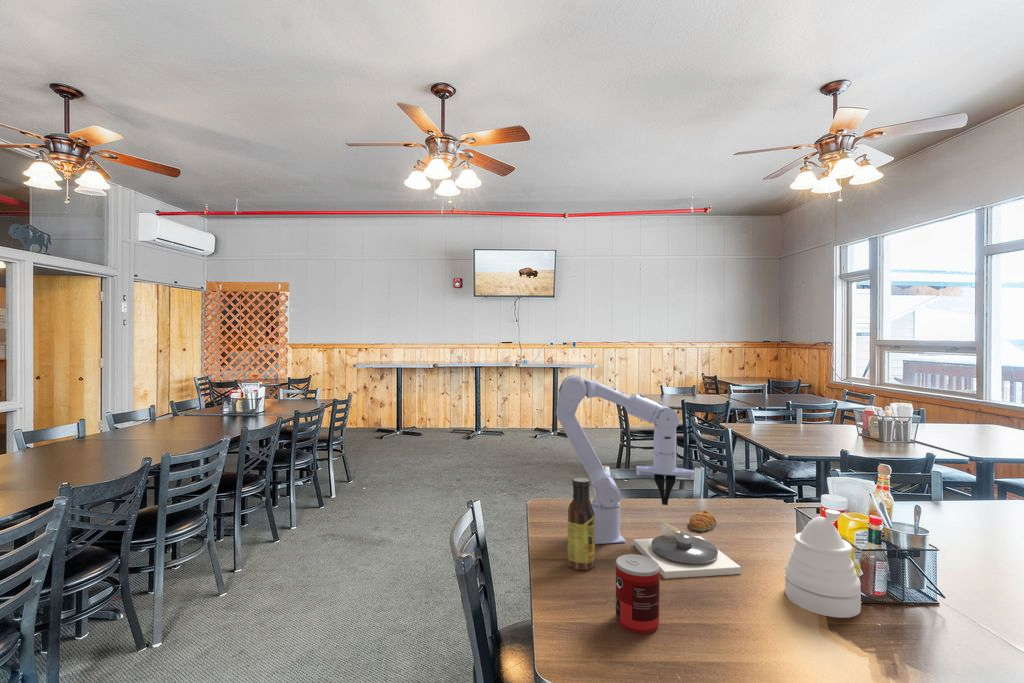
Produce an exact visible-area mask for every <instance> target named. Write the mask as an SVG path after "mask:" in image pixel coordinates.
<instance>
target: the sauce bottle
mask: <svg viewBox="0 0 1024 683" xmlns="http://www.w3.org/2000/svg"><path fill="white" fill-rule="evenodd" d="M571 482H572V490H573V492H572V498H573V499H572V500H571V502H570V503H569V506H568V510H567V514H568V515H567V517H568V518H567V564H568V566H569V567H570V568H572V569H573V570H576V571H577V570H578V571H588V570H591V569H593V568H594V566H595V559H596V558H595V557H596V556H595V555H596V554H595V552H596V550H595V549H596V546H595V545H596V544H595V514H594V511H593V508H592V505H591V504H592V502H591V499H590V486H591V480H590V478H587V477H574V478H573V479H572V481H571Z"/></svg>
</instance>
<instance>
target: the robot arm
mask: <svg viewBox="0 0 1024 683" xmlns="http://www.w3.org/2000/svg"><path fill="white" fill-rule="evenodd" d="M557 394H558V395H557V402H556V404H557V405H556V412H555V414H556V417H557V420H558V422H559V423H560V425H561V427H562V429H563V431H564V433H565V435H566V437H567V439H568V440H569V442H570V444H571V446H572V448H573V449H574V451H575V453H576V455H577V457H578V459H579V461H580V463H581V464H582V466H583V467H584V470H585V471H586V474H587V475H588V477H589V478H588V479H589V480H590V483H591V484H592V489H593V490H592V491H594V494H595V496H594V498H593V499H592V502H591V505H592V508H593V511H594V514H595V545H599V544H600V545H602V544H618V543H621V544H622V543H626V539H625V538H624V537H623V536H622V535H621V502H620V501H621V499H622V497H621V496H622V495H621V491H620V489H619V487H618V486H617V484H616V481H615V479H614V478H613V477H612V476H611V475H609V474H608V473H607V472H606V470H605V468H604V466H603V465H602V462H601V461H600V459H599V457H598V455H597V453H596V451H595V450H594V448H593V446H592V443H591V442H590V440H589V439H588V437H587V435H586V433H585V432H584V429H583V427H582V426H581V424H580V422H579V420H578V419H577V417H576V414H577V410H578V409H579V408H578V407H579V405H580V403H581V402H582V401H583V400H584V398H585V397H586V398H587V399H591V398H601V399H604V400H606V401H608V402H611V403H614V404H616V405H617V406H622V407H624V408H625V410H626V413H627V414H628V415H630V416H632V417H634V418H637V419H640V420H642V421H644V422H647V423H650V424H651V423H652V424H654V425H653V428H654V429H653V465H636V471H635V472H636V475H637V476H641V475H645V476H654V478H653V479H654V483H655V484H656V487H657V489H658V492H659V494H660V498H661V504H662V505H663V506H668V504H669V498H670V495H671V493H672V490H673V488H674V487H675V484H676V479H677V478H680V479H681V478H682V479H690V480H695V470H694V469H687V468H680V467H677V427H678V426H679V425H680V420H681V419H680V418H679V416H678V413H677V412H676V410H675V409H673V408H671V407H669V406H667V405H666V404H663V402H661V401H657V402H656V401H654V400H651V399H649V398H647V396H646V395H645V394H643V393H640V394H638V393H635V394H632V395H628V394H625V393H622V392H620V391H619V390H615V389H614V388H612V387H609V386H606V385H605V384H602V383H600V382H599V381H595V380H591V379H588V378H583V377H582V378H581V377H580V376H577V375H571V374H570V375H567V376H566V377H565V378H564V379H563V380H562V382H561V383H560V386H559V388H558V392H557Z"/></svg>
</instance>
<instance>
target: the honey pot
mask: <svg viewBox="0 0 1024 683" xmlns="http://www.w3.org/2000/svg"><path fill="white" fill-rule="evenodd" d="M824 512H825V516H826V517H824V516H815V517H814V518H812V519H811V520H809V522H807V524H806V525H805V526H804V528H803V529H802V531H801V532H797V533H796V534H795V535H794V537H793V539H794V542H795V545H794V547H793V548H792V550H791V552H790V556H789V558H788V562H787V563H786V565H785V568H784V570H785V573H784V574H785V576H784V581H785V582H784V585H785V586H784V589H785V591H784V592H785V596H786V597H787V598H788V600H789V601H791V602H792V603H793V604H795V605H796V606H798V607H800V608H802V609H804V610H805V611H808V612H811V613H814V614H818V615H821V616H826V617H830V618H840V619H841V618H843V619H844V618H852V617H857V616H858V615H860V613H861V610H862V606H861V604H862V598H861V597H862V596H861V595H862V593H861V586H862V585H861V580H860V579H859V577H858V574H857V571H856V569H855V563H854V561H853V560H852V558H851V556H850V554H852V552H853V546H852V545H851V543H850V542H848V541H847V540H845V539H843V537H842V536H841V534H840V532H839V530H838V528H836V526H835V525H834V524H833V523H832V522H836V521H838V520H839V519H840V517H841V511H838V510H836V509H829V508H828V509H827V508H826V509H825V510H824Z"/></svg>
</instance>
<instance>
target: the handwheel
mask: <svg viewBox="0 0 1024 683" xmlns="http://www.w3.org/2000/svg"><path fill="white" fill-rule="evenodd" d="M692 536H693V535H691V534H689V533H687V532H683V531H682V530H681V529H680V528H677V527H675V526H673V525H671V524H669V523H668V522H663V523H661V535H659V536H656V537H654V539H653V540H652V542H651V547H652V550H653V552H654V553H656V554H657V555H658V556H660V557H662V558H664V559H667V560H670V561H673V562H677V563H682V564H691V565H700V564H707V563H711V562H713V561H715V560H716V559H717V557H718V550H719V549H718V548H717V547H716V546H715V545H714V544H713V543H711V542H709V541H707V540H706V539H705V540H706V541H705V540H703V539H704V538H703V539H700V538H696V537H692ZM717 549H718V550H717Z"/></svg>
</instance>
